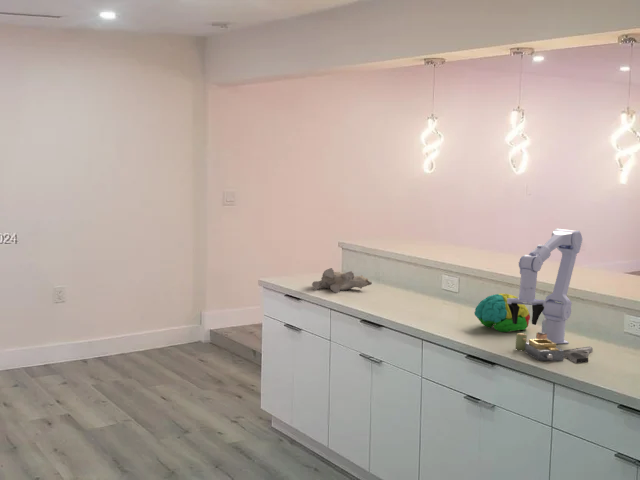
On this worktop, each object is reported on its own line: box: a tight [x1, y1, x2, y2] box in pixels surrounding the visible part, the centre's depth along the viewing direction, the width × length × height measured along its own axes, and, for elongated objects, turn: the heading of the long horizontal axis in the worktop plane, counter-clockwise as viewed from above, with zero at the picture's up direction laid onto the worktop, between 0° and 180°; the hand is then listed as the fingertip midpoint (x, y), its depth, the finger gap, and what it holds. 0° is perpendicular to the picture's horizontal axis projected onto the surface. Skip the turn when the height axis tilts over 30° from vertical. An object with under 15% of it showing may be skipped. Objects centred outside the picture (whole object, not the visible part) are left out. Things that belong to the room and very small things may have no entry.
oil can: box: [515, 332, 528, 352], centre depth 276 cm, size 5×4×6 cm
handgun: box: [562, 346, 594, 364], centre depth 270 cm, size 18×2×12 cm
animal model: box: [311, 268, 372, 294], centre depth 387 cm, size 14×28×17 cm
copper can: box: [535, 331, 547, 339], centre depth 280 cm, size 4×4×6 cm
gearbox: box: [524, 338, 564, 362], centre depth 268 cm, size 14×9×5 cm, turn 9°
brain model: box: [474, 293, 531, 333], centre depth 309 cm, size 24×19×15 cm
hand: (524, 323), depth 276 cm, fingers open, 7 cm apart
